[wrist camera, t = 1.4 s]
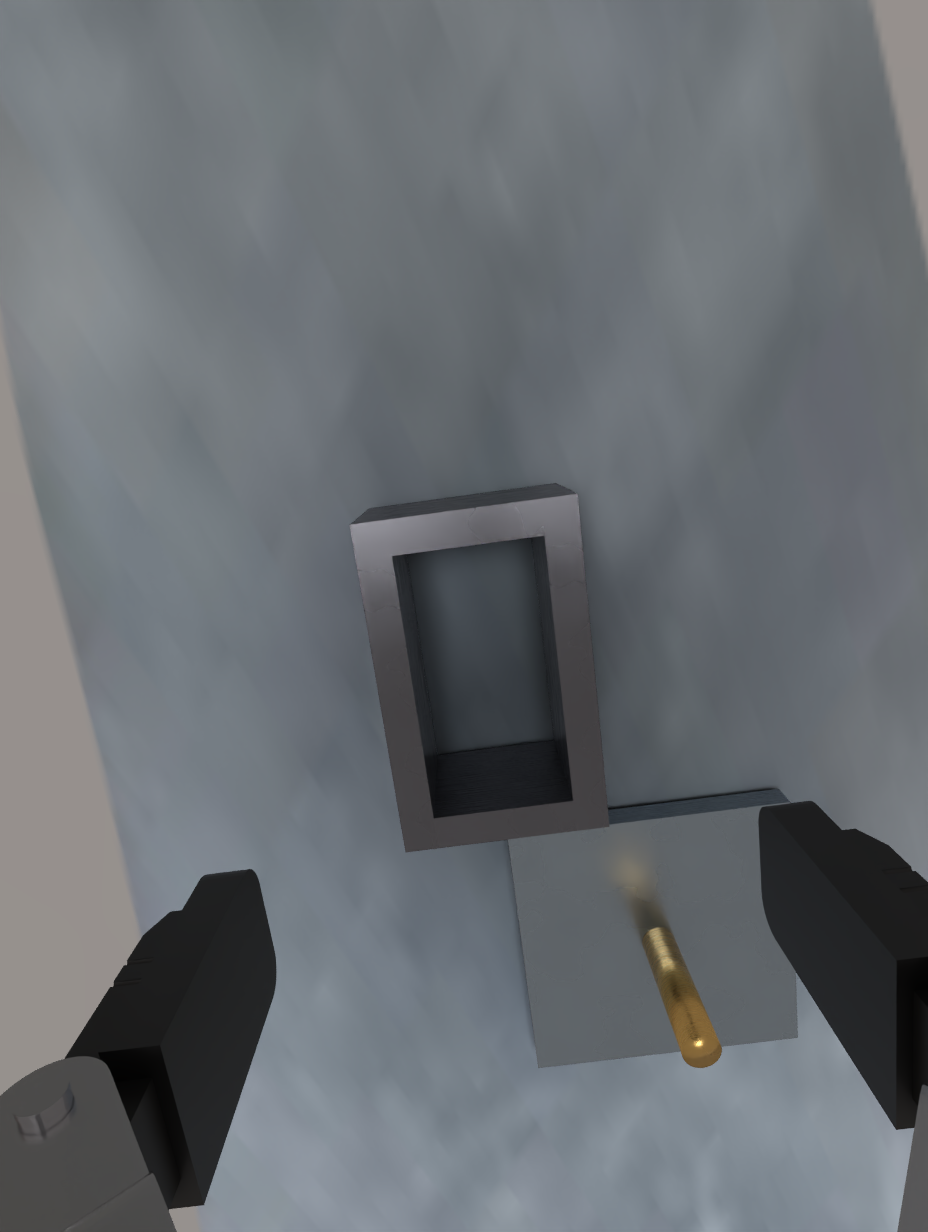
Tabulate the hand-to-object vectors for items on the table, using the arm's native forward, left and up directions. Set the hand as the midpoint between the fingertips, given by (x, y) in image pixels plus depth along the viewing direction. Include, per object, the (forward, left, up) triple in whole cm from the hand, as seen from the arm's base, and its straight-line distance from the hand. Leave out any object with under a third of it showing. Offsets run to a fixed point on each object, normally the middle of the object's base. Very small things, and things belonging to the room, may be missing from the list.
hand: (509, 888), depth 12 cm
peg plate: (+12, +5, -14) cm, 19 cm away
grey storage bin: (0, 0, -14) cm, 14 cm away
